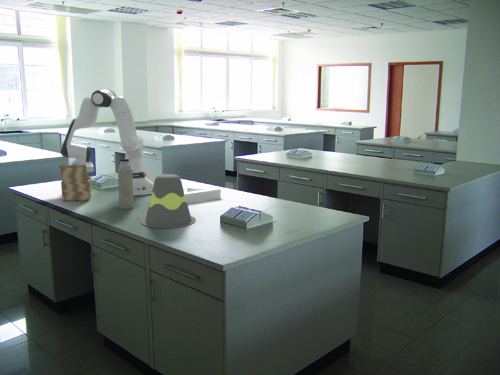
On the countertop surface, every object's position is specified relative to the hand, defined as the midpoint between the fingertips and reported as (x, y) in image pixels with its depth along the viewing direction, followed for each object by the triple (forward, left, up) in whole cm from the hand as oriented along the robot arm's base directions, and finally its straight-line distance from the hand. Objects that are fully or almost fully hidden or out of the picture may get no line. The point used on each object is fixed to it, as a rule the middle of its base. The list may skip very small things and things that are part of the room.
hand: (75, 170), depth 272 cm
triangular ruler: (-68, +11, -18) cm, 72 cm away
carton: (0, 0, -18) cm, 18 cm away
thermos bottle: (-29, +30, -18) cm, 45 cm away
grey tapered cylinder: (-50, +64, -18) cm, 83 cm away
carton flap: (0, +10, 0) cm, 10 cm away
